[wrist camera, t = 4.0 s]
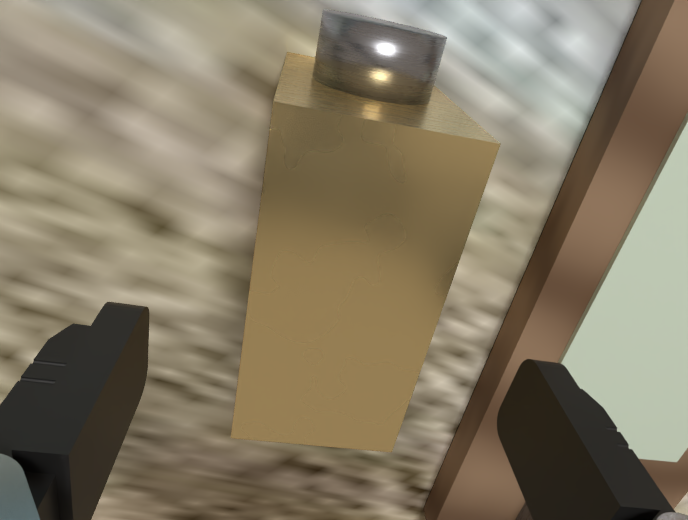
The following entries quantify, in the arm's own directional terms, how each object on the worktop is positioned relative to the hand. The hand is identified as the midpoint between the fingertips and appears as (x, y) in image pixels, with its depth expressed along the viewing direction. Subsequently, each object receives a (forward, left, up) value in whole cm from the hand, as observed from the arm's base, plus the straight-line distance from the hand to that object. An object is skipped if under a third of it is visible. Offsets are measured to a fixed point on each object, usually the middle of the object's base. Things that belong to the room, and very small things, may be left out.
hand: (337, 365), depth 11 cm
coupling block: (0, 0, -8) cm, 8 cm away
